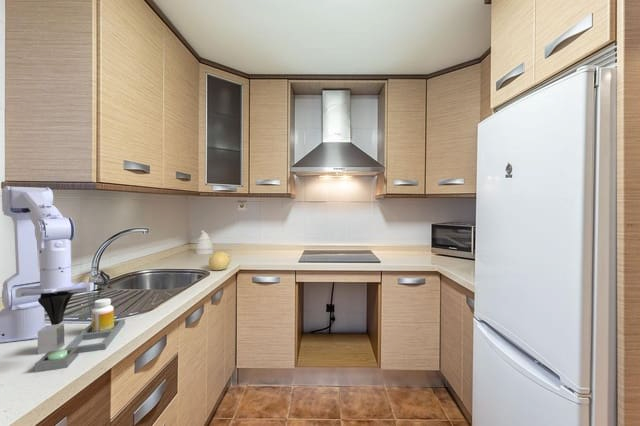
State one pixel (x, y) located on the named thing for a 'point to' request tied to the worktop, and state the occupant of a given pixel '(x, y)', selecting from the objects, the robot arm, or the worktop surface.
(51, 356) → the button
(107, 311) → the supplement bottle
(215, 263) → the yellow round fruit
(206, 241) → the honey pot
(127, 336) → the worktop surface
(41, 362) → the grey square tray
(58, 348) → the block
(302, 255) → the worktop surface
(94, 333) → the pallet frame
